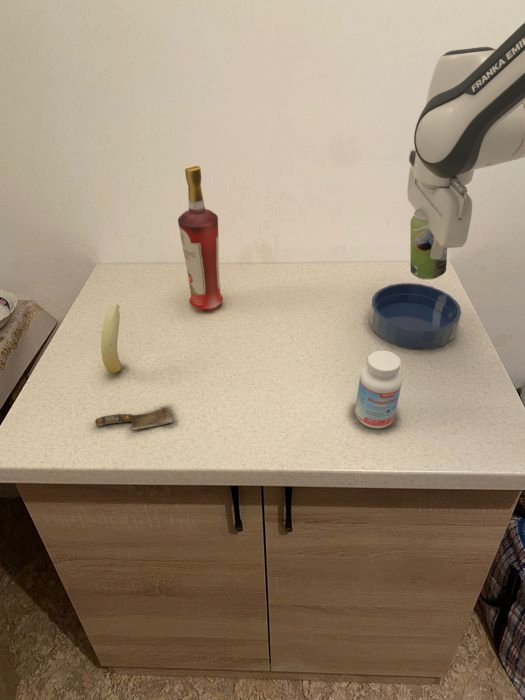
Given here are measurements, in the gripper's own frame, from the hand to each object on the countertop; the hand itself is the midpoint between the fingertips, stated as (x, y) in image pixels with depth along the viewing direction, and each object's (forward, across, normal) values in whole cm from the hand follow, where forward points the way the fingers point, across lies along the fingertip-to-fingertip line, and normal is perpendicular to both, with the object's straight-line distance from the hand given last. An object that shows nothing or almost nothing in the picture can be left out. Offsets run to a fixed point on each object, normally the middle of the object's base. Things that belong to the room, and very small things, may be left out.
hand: (427, 247), depth 87 cm
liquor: (+17, +10, +40) cm, 45 cm away
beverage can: (+5, 0, 0) cm, 5 cm away
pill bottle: (+17, -23, +12) cm, 31 cm away
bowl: (+16, 0, 0) cm, 17 cm away
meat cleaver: (+17, -22, +50) cm, 57 cm away
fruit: (+17, -10, +54) cm, 58 cm away
